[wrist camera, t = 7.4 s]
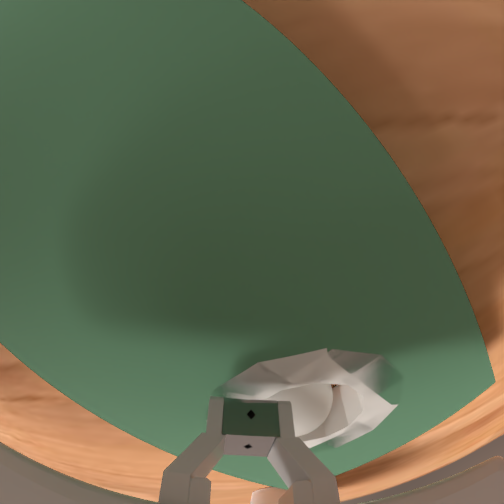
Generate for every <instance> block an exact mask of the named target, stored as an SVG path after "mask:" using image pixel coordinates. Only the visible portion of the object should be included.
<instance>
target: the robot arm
mask: <svg viewBox="0 0 504 504" xmlns="http://www.w3.org/2000/svg"><path fill="white" fill-rule="evenodd" d="M223 455H241V456H259V457H267V459H268V460H269V461H270V463H271V464H272V466H273V467H274V469H275V470H276V471H277V473H278V474H279V476H280V477H281V478H282V480H283V481H284V483H285V484H286V485H287V487H288V488H289V489H288V490H287V491H286V492H285V493H284V494H283V495H282V496H281V497H280V498H279V499H278V504H340V500H339V493H338V487H337V481H336V477H335V476H334V475H333V474H332V473H331V472H330V471H329V469H328V468H327V467H326V466H325V465H324V464H323V463H322V462H321V461H320V460H319V459H318V458H317V457H316V456H315V454H314V453H313V452H312V451H311V450H310V449H309V448H308V447H307V446H306V445H305V443H304V442H303V441H302V440H301V439H300V438H299V437H295V430H294V421H293V413H292V404H291V402H290V401H276V400H251V399H250V400H247V399H235V398H225V397H217V396H210V399H209V408H208V417H207V426H206V433H203V432H202V433H201V434H200V435H199V436H198V437H197V438H196V439H195V440H194V441H193V442H192V443H191V444H190V445H189V446H188V447H187V448H186V449H185V450H184V451H183V452H182V453H181V454H180V455H179V456H178V457H177V458H176V459H175V460H174V461H173V462H172V463H171V464H170V465H169V466H168V467H167V468H166V469H165V470H164V472H163V477H162V483H161V489H160V495H159V501H158V502H153V501H148V500H144V499H140V498H136V497H132V496H128V495H124V494H120V493H117V492H113V491H110V490H107V489H104V488H101V487H97V486H94V485H92V484H89V483H86V482H83V481H80V480H78V479H75V478H73V477H70V476H68V475H65V474H63V473H60V472H58V471H56V470H53V469H51V468H49V467H47V466H45V465H42V464H40V463H38V462H36V461H34V460H32V459H30V458H28V457H26V456H24V455H23V454H21V453H19V452H17V451H15V450H13V449H12V448H10V447H8V446H6V445H5V444H3V443H1V442H0V504H210V491H211V481H210V480H209V479H207V478H205V477H206V476H207V475H208V474H209V473H210V471H211V470H212V469H213V468H214V466H215V465H216V464H217V463H218V461H219V460H220V459H221V458H222V456H223ZM359 504H504V458H502V457H500V456H495V457H492V458H490V459H488V460H486V461H484V462H482V463H480V464H478V465H476V466H474V467H472V468H469V469H467V470H465V471H463V472H460V473H458V474H456V475H453V476H451V477H448V478H446V479H443V480H440V481H438V482H435V483H432V484H430V485H427V486H424V487H421V488H417V489H414V490H411V491H408V492H404V493H401V494H397V495H394V496H390V497H386V498H382V499H377V500H373V501H368V502H364V503H359Z"/></svg>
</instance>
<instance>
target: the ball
mask: <svg viewBox="0 0 504 504" xmlns="http://www.w3.org/2000/svg"><path fill="white" fill-rule="evenodd" d="M265 400H276V401H290V402H291V404H292V413H293V421H294V430H295V437H296V436H301V435H305V434H308V433H310V432H312V431H313V430H315V429H316V428H318V427H319V426H320V425H321V424H322V423H323V422H324V421H325V419H326V418H327V416H328V414H329V413H330V410H331V407H332V403H333V391H332V387H331V384H326V383H314V384H309V385H305V386H300V387H295V388H290V389H284V390H281V391H279V392H278V393H276V394H274V395H272V396H270V397H268V398H267V399H265Z"/></svg>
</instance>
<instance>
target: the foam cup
mask: <svg viewBox="0 0 504 504" xmlns="http://www.w3.org/2000/svg"><path fill="white" fill-rule="evenodd" d="M286 491H287V490H285V489H281V488H276V487H269V488H263V489H259V490H256V491H254V492H253V493H252V498H251V502H250V504H278V499H279V498H280V497H281V496H282V495H283V494H284V493H285V492H286Z"/></svg>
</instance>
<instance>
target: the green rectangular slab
mask: <svg viewBox="0 0 504 504" xmlns="http://www.w3.org/2000/svg"><path fill="white" fill-rule="evenodd" d="M0 343H1V344H2V345H3V346H5V347H6V348H7V349H8V350H9V351H10V352H11V353H12V354H13V355H14V356H16V357H17V358H18V359H19V360H20V361H21V362H23V363H24V364H25V365H26V366H27V367H29V368H30V369H31V370H32V371H34V372H35V373H36V374H37V375H39V376H40V377H41V378H42V379H44V380H45V381H46V382H48V383H49V384H50V385H52V386H53V387H54V388H56V389H57V390H59V391H60V392H61V393H63V394H64V395H66V396H67V397H69V398H70V399H72V400H73V401H75V402H76V403H78V404H79V405H81V406H82V407H84V408H85V409H87V410H88V411H90V412H92V413H93V414H95V415H97V416H98V417H100V418H102V419H103V420H105V421H107V422H108V423H110V424H112V425H114V426H116V427H117V428H119V429H121V430H123V431H125V432H127V433H129V434H130V435H132V436H134V437H136V438H138V439H140V440H142V441H144V442H146V443H149V444H151V445H153V446H155V447H157V448H159V449H162V450H164V451H166V452H168V453H171V454H173V455H175V456H179V455H180V454H181V453H182V452H183V451H184V450H185V449H186V448H187V447H188V446H189V445H190V444H191V443H192V442H193V441H194V440H195V439H196V438H197V437H198V436H199V435H200V434H201V433H202V432H203V433H206V426H207V417H208V408H209V399H210V396H217V397H225V398H235V399H247V400H250V399H251V400H265V399H267V398H268V397H270V396H272V395H274V394H276V393H278V392H279V391H281V390H284V389H290V388H295V387H300V386H305V385H309V384H314V383H326V384H338V385H337V386H335V387H334V388H332V391H333V403H332V407H331V410H330V413H329V414H328V416H327V418H326V419H325V421H324V422H323V423H322V424H321V425H320V426H319V427H318V428H316V429H315V430H313V431H312V432H310V433H308V434H305V435H301V436H296V437H299V438H300V439H301V440H302V441H303V442H304V443H305V445H306V446H307V447H308V448H309V449H310V450H311V451H312V452H313V453H314V454H315V456H316V457H317V458H318V459H319V460H320V461H321V462H322V463H323V464H324V465H325V466H326V467H327V468H328V469H329V471H330V472H331V473H332V474H333V475H334V476H336V475H339V474H341V473H344V472H346V471H349V470H351V469H354V468H356V467H358V466H361V465H363V464H365V463H367V462H370V461H372V460H374V459H376V458H378V457H380V456H382V455H384V454H386V453H388V452H390V451H392V450H394V449H396V448H398V447H400V446H402V445H404V444H406V443H407V442H409V441H411V440H413V439H415V438H416V437H418V436H420V435H422V434H423V433H425V432H427V431H428V430H430V429H431V428H433V427H435V426H436V425H438V424H439V423H441V422H442V421H444V420H445V419H447V418H448V417H450V416H451V415H453V414H454V413H456V412H457V411H459V410H460V409H461V408H463V407H464V406H466V405H467V404H468V403H470V402H471V401H472V400H474V399H475V398H476V397H478V396H479V395H480V394H481V393H483V392H484V391H485V390H486V389H488V388H489V387H490V386H491V385H492V384H494V383H495V378H494V374H493V370H492V367H491V363H490V360H489V356H488V353H487V350H486V346H485V343H484V340H483V337H482V334H481V331H480V328H479V326H478V323H477V320H476V317H475V315H474V312H473V309H472V307H471V304H470V302H469V299H468V297H467V294H466V292H465V290H464V287H463V285H462V283H461V280H460V278H459V276H458V274H457V272H456V269H455V267H454V265H453V263H452V261H451V259H450V257H449V255H448V253H447V251H446V249H445V247H444V245H443V243H442V241H441V239H440V237H439V235H438V233H437V231H436V229H435V228H434V226H433V224H432V222H431V220H430V219H429V217H428V215H427V213H426V212H425V210H424V208H423V206H422V205H421V203H420V201H419V200H418V198H417V196H416V195H415V193H414V192H413V190H412V188H411V187H410V185H409V184H408V182H407V181H406V179H405V177H404V176H403V174H402V173H401V171H400V170H399V168H398V167H397V165H396V164H395V163H394V161H393V160H392V158H391V157H390V155H389V154H388V152H387V151H386V150H385V148H384V147H383V146H382V144H381V143H380V141H379V140H378V139H377V137H376V136H375V135H374V133H373V132H372V131H371V130H370V128H369V127H368V126H367V124H366V123H365V122H364V121H363V119H362V118H361V117H360V116H359V114H358V113H357V112H356V111H355V109H354V108H353V107H352V106H351V105H350V103H349V102H348V101H347V100H346V99H345V98H344V96H343V95H342V94H341V93H340V92H339V91H338V90H337V89H336V87H335V86H334V85H333V84H332V83H331V82H330V81H329V80H328V79H327V78H326V76H325V75H324V74H323V73H322V72H321V71H320V70H319V69H318V68H317V67H316V66H315V65H314V64H313V63H312V62H311V61H310V60H309V59H308V58H307V57H306V56H305V55H304V54H303V53H302V52H301V51H300V50H299V49H298V48H297V47H296V46H295V45H294V44H293V43H292V42H291V41H289V40H288V39H287V38H286V37H285V36H284V35H283V34H282V33H281V32H280V31H278V30H277V29H276V28H275V27H274V26H273V25H272V24H270V23H269V22H268V21H267V20H266V19H264V18H263V17H262V16H261V15H260V14H258V13H257V12H256V11H255V10H253V9H252V8H251V7H250V6H248V5H247V4H246V3H245V2H243V1H242V0H0ZM212 470H215V471H218V472H221V473H224V474H227V475H231V476H234V477H237V478H241V479H244V480H248V481H252V482H255V483H259V484H263V485H267V486H272V487H276V488H281V489H285V490H288V489H289V488H288V487H287V485H286V484H285V483H284V481H283V480H282V478H281V477H280V476H279V474H278V473H277V471H276V470H275V469H274V467H273V466H272V464H271V463H270V461H269V460H268V459H267V457H259V456H241V455H223V456H222V458H221V459H220V460H219V461H218V463H217V464H216V465H215V466H214V468H213V469H212Z"/></svg>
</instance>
